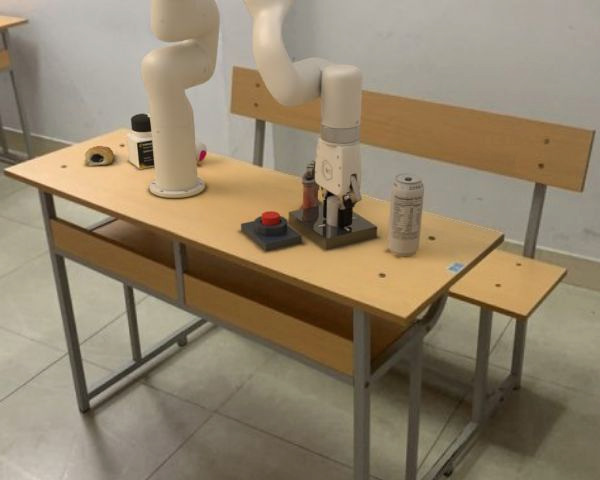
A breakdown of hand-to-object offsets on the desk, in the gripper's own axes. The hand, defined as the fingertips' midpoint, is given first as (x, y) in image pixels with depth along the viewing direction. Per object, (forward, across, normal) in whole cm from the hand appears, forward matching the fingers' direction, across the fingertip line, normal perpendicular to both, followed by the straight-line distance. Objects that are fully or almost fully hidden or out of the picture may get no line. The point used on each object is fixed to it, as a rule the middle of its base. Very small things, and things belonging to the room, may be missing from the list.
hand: (337, 220), depth 156 cm
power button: (0, -5, -12) cm, 13 cm away
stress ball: (+3, -53, -8) cm, 54 cm away
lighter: (+3, -14, +2) cm, 15 cm away
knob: (0, 0, 0) cm, 0 cm away
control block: (+3, -5, -12) cm, 14 cm away
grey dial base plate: (+3, -2, 0) cm, 4 cm away
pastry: (+3, -67, -27) cm, 72 cm away
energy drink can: (+3, +13, +7) cm, 15 cm away
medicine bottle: (+3, -59, -18) cm, 62 cm away
